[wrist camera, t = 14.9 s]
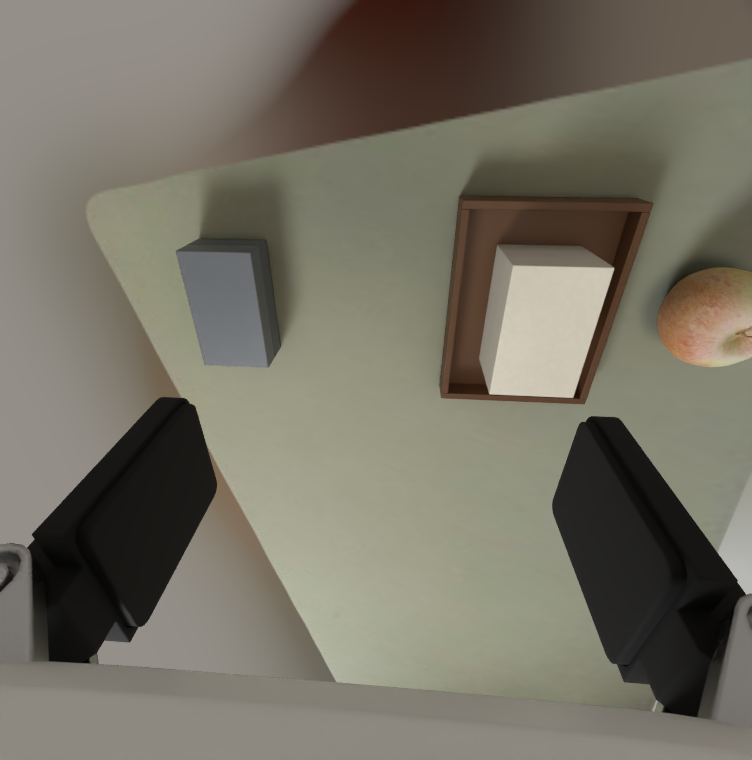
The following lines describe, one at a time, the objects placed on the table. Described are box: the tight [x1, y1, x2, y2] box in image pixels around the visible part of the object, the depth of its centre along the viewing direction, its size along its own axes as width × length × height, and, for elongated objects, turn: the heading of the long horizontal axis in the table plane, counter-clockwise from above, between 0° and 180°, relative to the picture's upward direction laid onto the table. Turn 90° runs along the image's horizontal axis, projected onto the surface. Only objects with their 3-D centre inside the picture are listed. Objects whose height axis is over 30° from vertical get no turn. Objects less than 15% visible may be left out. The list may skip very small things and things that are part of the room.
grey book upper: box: [176, 245, 275, 368], centre depth 34 cm, size 10×6×2 cm, turn 0°
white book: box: [485, 257, 614, 398], centre depth 30 cm, size 10×7×2 cm, turn 0°
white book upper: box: [482, 250, 602, 380], centre depth 32 cm, size 10×7×2 cm, turn 0°
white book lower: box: [479, 244, 590, 367], centre depth 34 cm, size 10×7×2 cm, turn 0°
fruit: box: [657, 267, 752, 367], centre depth 30 cm, size 8×7×8 cm
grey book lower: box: [188, 239, 281, 356], centre depth 35 cm, size 10×6×2 cm, turn 0°
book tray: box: [440, 196, 653, 404], centre depth 34 cm, size 17×13×2 cm
